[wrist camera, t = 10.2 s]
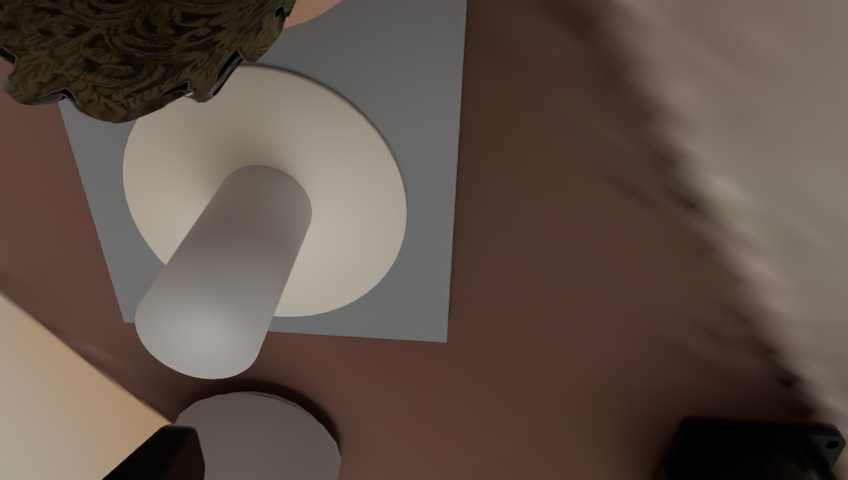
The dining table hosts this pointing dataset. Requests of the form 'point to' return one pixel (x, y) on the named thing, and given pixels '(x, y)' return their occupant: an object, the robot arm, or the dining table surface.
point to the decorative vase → (131, 50)
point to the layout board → (404, 106)
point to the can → (261, 439)
